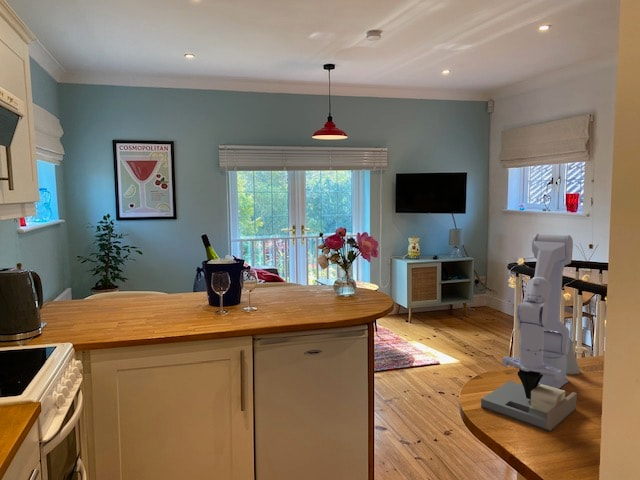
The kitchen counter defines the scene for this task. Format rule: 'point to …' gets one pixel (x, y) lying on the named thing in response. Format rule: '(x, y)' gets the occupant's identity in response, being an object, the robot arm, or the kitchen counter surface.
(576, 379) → the kitchen counter surface
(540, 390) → the beech block
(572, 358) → the flask
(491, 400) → the board
